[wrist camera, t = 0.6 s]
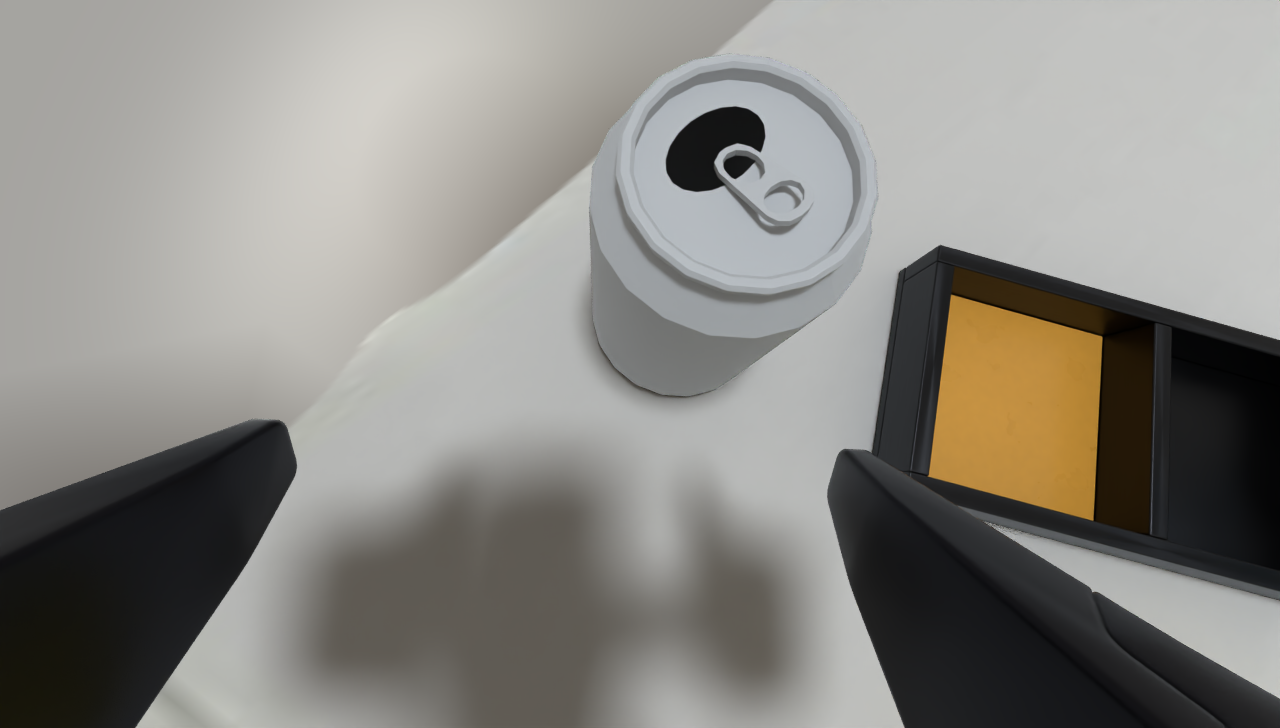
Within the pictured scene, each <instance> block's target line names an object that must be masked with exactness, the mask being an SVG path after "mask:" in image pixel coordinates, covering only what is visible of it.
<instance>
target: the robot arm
mask: <svg viewBox="0 0 1280 728" xmlns="http://www.w3.org/2000/svg"><path fill="white" fill-rule="evenodd" d="M296 469H297V462H296V457H295V454H294V450H293V447H292V443H291V440H290V436H289V433H288V429H287V427H286V425H285V424H284V423H283V422H282V421H280V420H271V419H251V420H248V421H245V422H243V423H240V424H237V425H234V426H231V427H229V428H226V429H223V430H220V431H217V432H215V433H212V434H209V435H206V436H204V437H201V438H198V439H195V440H193V441H190V442H187V443H184V444H182V445H179V446H176V447H173V448H171V449H168V450H165V451H162V452H160V453H157V454H154V455H152V456H149V457H146V458H143V459H140V460H138V461H135V462H132V463H130V464H127V465H124V466H121V467H118V468H116V469H113V470H110V471H107V472H105V473H102V474H99V475H97V476H94V477H91V478H88V479H85V480H83V481H80V482H77V483H74V484H71V485H69V486H66V487H63V488H60V489H58V490H55V491H52V492H50V493H47V494H44V495H41V496H39V497H36V498H33V499H30V500H27V501H25V502H22V503H19V504H16V505H14V506H11V507H8V508H5V509H3V510H0V728H135V727H136V726H137V725H138V723H139V722H140V720H141V719H142V717H143V716H144V714H145V713H146V711H147V710H148V708H149V707H150V705H151V704H152V703H153V701H154V700H155V698H156V697H157V695H158V694H159V692H160V691H161V689H162V688H163V686H164V685H165V683H166V682H167V681H168V679H169V678H170V676H171V675H172V673H173V672H174V670H175V669H176V667H177V666H178V664H179V663H180V661H181V660H182V659H183V657H184V656H185V654H186V653H187V651H188V650H189V648H190V647H191V645H192V644H193V642H194V641H195V639H196V638H197V636H198V635H199V634H200V632H201V631H202V629H203V628H204V626H205V625H206V623H207V622H208V620H209V619H210V617H211V616H212V614H213V613H214V612H215V610H216V609H217V607H218V606H219V604H220V603H221V601H222V600H223V598H224V597H225V595H226V594H227V592H228V591H229V590H230V588H231V587H232V585H233V584H234V582H235V581H236V579H237V578H238V576H239V575H240V573H241V572H242V570H243V569H244V567H245V565H246V564H247V562H248V561H249V559H250V557H251V556H252V554H253V552H254V550H255V549H256V547H257V545H258V543H259V541H260V540H261V538H262V536H263V534H264V532H265V530H266V529H267V527H268V525H269V523H270V521H271V519H272V518H273V516H274V514H275V512H276V510H277V508H278V507H279V505H280V503H281V501H282V499H283V497H284V496H285V494H286V492H287V490H288V488H289V486H290V485H291V483H292V481H293V479H294V477H295V474H296ZM827 498H828V504H829V508H830V511H831V515H832V519H833V523H834V527H835V530H836V534H837V538H838V542H839V546H840V549H841V553H842V557H843V561H844V565H845V568H846V572H847V576H848V579H849V582H850V586H851V589H852V591H853V594H854V597H855V600H856V602H857V605H858V608H859V610H860V613H861V615H862V618H863V621H864V623H865V626H866V629H867V631H868V634H869V636H870V639H871V642H872V644H873V647H874V649H875V652H876V655H877V657H878V660H879V662H880V665H881V668H882V670H883V673H884V675H885V678H886V681H887V683H888V686H889V688H890V691H891V694H892V696H893V699H894V701H895V704H896V707H897V709H898V712H899V714H900V717H901V720H902V722H903V725H904V727H905V728H1280V699H1279V698H1277V697H1276V696H1274V695H1272V694H1270V693H1268V692H1267V691H1265V690H1263V689H1261V688H1260V687H1258V686H1256V685H1254V684H1252V683H1251V682H1249V681H1247V680H1245V679H1244V678H1242V677H1240V676H1238V675H1237V674H1235V673H1233V672H1231V671H1229V670H1228V669H1226V668H1224V667H1222V666H1221V665H1219V664H1217V663H1215V662H1214V661H1212V660H1210V659H1208V658H1207V657H1205V656H1203V655H1201V654H1200V653H1198V652H1196V651H1194V650H1193V649H1191V648H1189V647H1187V646H1186V645H1184V644H1182V643H1181V642H1179V641H1177V640H1176V639H1174V638H1172V637H1171V636H1169V635H1167V634H1166V633H1164V632H1162V631H1161V630H1159V629H1157V628H1156V627H1154V626H1152V625H1151V624H1149V623H1147V622H1146V621H1144V620H1142V619H1141V618H1139V617H1137V616H1136V615H1134V614H1132V613H1131V612H1129V611H1127V610H1126V609H1124V608H1122V607H1121V606H1119V605H1118V604H1116V603H1114V602H1113V601H1111V600H1109V599H1108V598H1106V597H1105V596H1103V595H1101V594H1100V593H1098V592H1093V593H1092V591H1091V589H1090V587H1088V586H1087V585H1085V584H1083V583H1082V582H1080V581H1078V580H1077V579H1075V578H1074V577H1072V576H1070V575H1069V574H1067V573H1065V572H1064V571H1062V570H1061V569H1059V568H1057V567H1056V566H1054V565H1052V564H1051V563H1049V562H1048V561H1046V560H1044V559H1043V558H1041V557H1039V556H1038V555H1036V554H1035V553H1033V552H1031V551H1030V550H1028V549H1026V548H1025V547H1023V546H1022V545H1020V544H1018V543H1017V542H1015V541H1013V540H1012V539H1010V538H1009V537H1007V536H1005V535H1004V534H1002V533H1000V532H999V531H997V530H996V529H994V528H992V527H991V526H989V525H987V524H986V523H984V522H983V521H981V520H979V519H978V518H976V517H974V516H973V515H971V514H970V513H968V512H966V511H965V510H963V509H961V508H960V507H958V506H957V505H955V504H953V503H952V502H950V501H948V500H947V499H945V498H944V497H942V496H940V495H939V494H937V493H936V492H934V491H932V490H931V489H929V488H927V487H926V486H924V485H923V484H921V483H919V482H918V481H916V480H914V479H913V478H911V477H910V476H908V475H906V474H905V473H903V472H901V471H900V470H898V469H897V468H895V467H893V466H892V465H890V464H888V463H887V462H885V461H884V460H882V459H880V458H879V457H877V456H875V455H874V454H872V453H871V452H869V451H866V450H856V449H843V450H842V451H840V452H839V454H838V456H837V459H836V462H835V466H834V469H833V472H832V476H831V479H830V483H829V486H828V492H827Z"/></svg>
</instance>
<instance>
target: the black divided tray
mask: <svg viewBox="0 0 1280 728" xmlns="http://www.w3.org/2000/svg"><path fill="white" fill-rule="evenodd" d="M873 454H874V455H875V456H877V457H879V458H880V459H882V460H884V461H885V462H887V463H888V464H890V465H892V466H893V467H895V468H897V469H898V470H900V471H901V472H903V473H905V474H906V475H908V476H910V477H911V478H913V479H914V480H916V481H918V482H919V483H921V484H923V485H924V486H926V487H927V488H929V489H931V490H932V491H934V492H936V493H937V494H939V495H940V496H942V497H944V498H945V499H947V500H948V501H950V502H952V503H953V504H955V505H957V506H958V507H960V508H961V509H963V510H965V511H966V512H968V513H970V514H971V515H973V516H974V517H976V518H978V519H979V520H982V521H986V522H989V523H993V524H997V525H1001V526H1004V527H1008V528H1012V529H1016V530H1019V531H1023V532H1027V533H1031V534H1034V535H1038V536H1042V537H1046V538H1049V539H1053V540H1057V541H1060V542H1064V543H1068V544H1072V545H1075V546H1079V547H1083V548H1087V549H1090V550H1094V551H1098V552H1102V553H1105V554H1109V555H1113V556H1117V557H1120V558H1124V559H1128V560H1132V561H1135V562H1139V563H1143V564H1147V565H1150V566H1154V567H1158V568H1162V569H1165V570H1169V571H1173V572H1177V573H1180V574H1184V575H1188V576H1191V577H1195V578H1199V579H1203V580H1206V581H1210V582H1214V583H1218V584H1221V585H1225V586H1229V587H1233V588H1236V589H1240V590H1244V591H1248V592H1251V593H1255V594H1259V595H1263V596H1266V597H1270V598H1274V599H1278V600H1280V340H1277V339H1274V338H1270V337H1267V336H1263V335H1259V334H1256V333H1252V332H1249V331H1245V330H1242V329H1238V328H1234V327H1231V326H1227V325H1224V324H1220V323H1217V322H1213V321H1210V320H1206V319H1202V318H1199V317H1195V316H1192V315H1188V314H1185V313H1181V312H1177V311H1174V310H1170V309H1167V308H1163V307H1160V306H1156V305H1152V304H1149V303H1145V302H1142V301H1138V300H1135V299H1131V298H1128V297H1124V296H1120V295H1117V294H1113V293H1110V292H1106V291H1103V290H1099V289H1095V288H1092V287H1088V286H1085V285H1081V284H1078V283H1074V282H1070V281H1067V280H1063V279H1060V278H1056V277H1053V276H1049V275H1046V274H1042V273H1038V272H1035V271H1031V270H1028V269H1024V268H1021V267H1017V266H1013V265H1010V264H1006V263H1003V262H999V261H996V260H992V259H988V258H985V257H981V256H978V255H974V254H971V253H967V252H964V251H960V250H956V249H953V248H949V247H946V246H942V245H939V246H938V247H936V248H935V249H933V250H932V251H930V252H929V253H927V254H926V255H924V256H923V257H921V258H920V259H918V260H917V261H915V262H914V263H912V264H911V265H909V266H908V267H907V268H904V269H903V270H901V271H900V275H899V281H898V288H897V295H896V301H895V308H894V315H893V321H892V328H891V335H890V341H889V348H888V355H887V361H886V368H885V375H884V381H883V388H882V395H881V401H880V408H879V415H878V421H877V428H876V435H875V441H874V448H873Z"/></svg>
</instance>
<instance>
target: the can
mask: <svg viewBox="0 0 1280 728" xmlns="http://www.w3.org/2000/svg"><path fill="white" fill-rule="evenodd" d="M877 200H878V187H877V169H876V160H875V157H874V155H873V152H872V150H871V147H870V145H869V142H868V139H867V137H866V134H865V132H864V129H863V127H862V125H861V124H860V122H859V121H858V120H857V119H856V117H855V116H854V115H853V114H852V112H851V111H850V110H849V109H848V107H847V106H846V105H845V104H844V102H843V101H842V100H841V98H840V97H839V96H838V95H837V94H836V93H834V92H833V91H831V90H830V89H829V88H827V87H826V86H825V85H823V84H822V83H821V82H819V81H818V80H816V79H815V78H814V77H812V76H811V75H810V74H808V73H807V72H805V71H802V70H800V69H797V68H795V67H792V66H789V65H787V64H784V63H782V62H779V61H777V60H774V59H771V58H768V57H759V56H750V55H740V54H731V53H729V54H724V55H718V56H712V57H706V58H700V59H694V60H691V61H689V62H687V63H685V64H683V65H681V66H679V67H677V68H675V69H674V70H671V71H669V72H667V73H665V74H663V75H661V76H660V77H659V78H657V79H656V80H655V81H654V82H653V83H652V84H651V85H650V86H649V87H648V89H646V91H645V92H644V93H643V94H642V95H641V96H640V97H639V98H638V99H637V100H636V101H635V102H634V103H633V105H632V107H631V108H630V109H629V110H628V111H627V112H626V113H625V114H624V115H623V116H622V117H621V118H620V119H619V120H618V121H617V123H616V124H615V125H614V126H613V127H612V128H611V129H610V130H609V131H608V134H607V136H606V138H605V140H604V142H603V145H602V147H601V149H600V151H599V153H598V155H597V158H596V160H595V162H594V164H593V166H592V178H591V191H590V205H589V217H590V250H591V282H592V315H593V322H594V326H595V330H596V334H597V337H598V341H599V345H600V346H601V348H602V349H603V351H604V352H605V354H606V355H607V357H608V358H609V360H610V361H611V363H612V365H613V366H614V367H615V368H616V369H617V370H618V371H620V372H621V373H622V374H623V375H625V376H626V377H627V378H628V379H629V380H631V381H632V382H633V383H634V384H636V385H638V386H641V387H643V388H646V389H649V390H651V391H654V392H656V393H659V394H661V395H677V396H692V395H696V394H700V393H703V392H707V391H711V390H715V389H717V388H718V387H720V386H721V385H723V384H724V383H726V382H727V381H729V380H730V379H732V378H733V377H735V376H736V375H738V374H739V373H741V372H742V371H743V370H745V369H746V368H748V367H749V366H750V365H752V364H753V363H755V362H756V361H757V360H759V359H760V358H761V357H763V356H764V355H766V354H767V353H768V352H770V351H771V350H773V349H774V348H775V347H777V346H778V345H779V344H781V343H782V342H784V341H785V340H786V339H788V338H789V337H791V336H792V335H793V334H795V333H796V332H797V331H799V330H800V329H802V328H803V327H804V326H806V325H807V324H809V323H810V322H811V321H813V320H814V319H816V318H817V317H818V316H820V315H821V314H822V313H824V312H825V311H827V310H828V309H829V308H831V307H832V306H834V305H835V304H836V303H837V302H838V300H839V299H840V298H841V296H842V295H843V294H844V292H845V291H846V290H847V288H848V287H849V286H850V284H851V283H852V281H853V280H854V279H855V277H856V276H857V275H858V273H859V272H860V271H861V267H862V264H863V261H864V257H865V254H866V250H867V247H868V244H869V240H870V237H871V234H872V224H871V220H872V217H873V214H874V210H875V207H876V203H877Z"/></svg>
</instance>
